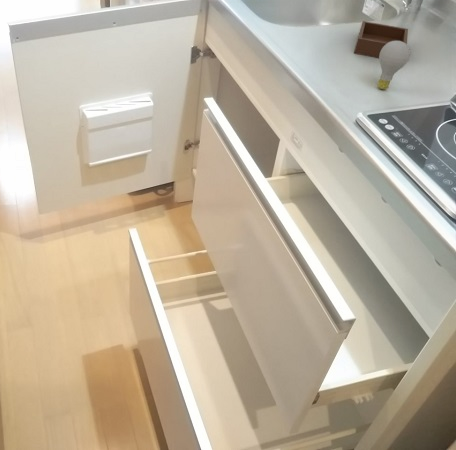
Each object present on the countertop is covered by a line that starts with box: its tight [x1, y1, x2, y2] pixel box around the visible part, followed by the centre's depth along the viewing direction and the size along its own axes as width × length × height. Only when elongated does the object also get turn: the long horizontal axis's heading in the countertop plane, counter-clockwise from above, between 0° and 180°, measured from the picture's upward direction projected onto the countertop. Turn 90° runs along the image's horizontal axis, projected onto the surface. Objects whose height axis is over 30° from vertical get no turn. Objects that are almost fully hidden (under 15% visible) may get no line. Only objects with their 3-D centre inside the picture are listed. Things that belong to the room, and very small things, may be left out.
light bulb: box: [377, 41, 411, 90], centre depth 103 cm, size 6×5×10 cm
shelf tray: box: [353, 20, 409, 59], centre depth 120 cm, size 10×11×4 cm
